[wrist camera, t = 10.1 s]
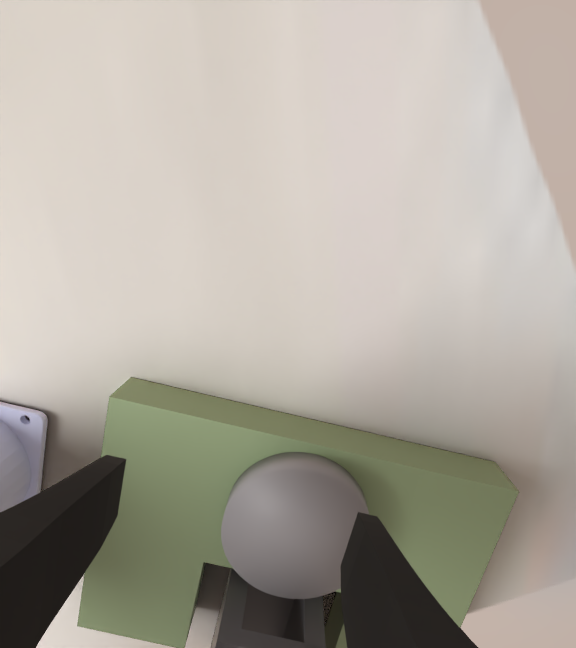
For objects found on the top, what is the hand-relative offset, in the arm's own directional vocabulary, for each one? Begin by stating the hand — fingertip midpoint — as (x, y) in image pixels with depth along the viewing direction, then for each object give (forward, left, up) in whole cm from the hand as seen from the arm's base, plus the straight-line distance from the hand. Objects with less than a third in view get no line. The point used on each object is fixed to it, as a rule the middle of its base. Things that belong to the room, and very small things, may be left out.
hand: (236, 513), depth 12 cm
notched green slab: (+3, -8, -9) cm, 13 cm away
